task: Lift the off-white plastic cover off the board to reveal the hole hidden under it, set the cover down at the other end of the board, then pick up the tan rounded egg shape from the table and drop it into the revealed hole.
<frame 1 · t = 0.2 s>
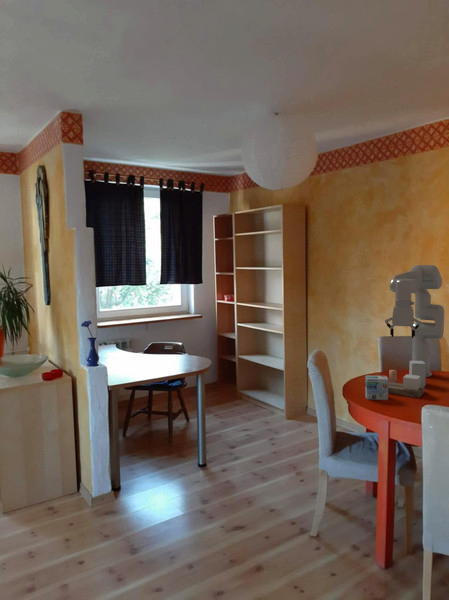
hand: (402, 337, 235), 30 cm above the table, tool pointing down, fingers open, 9 cm apart
light bulb box: (376, 398, 233), on the table
cover: (411, 387, 239), point 3 cm above the table, touching board
supplement box: (417, 384, 255), on the table
tan rounded egg shape: (392, 382, 259), on the table
board: (401, 392, 242), on the table
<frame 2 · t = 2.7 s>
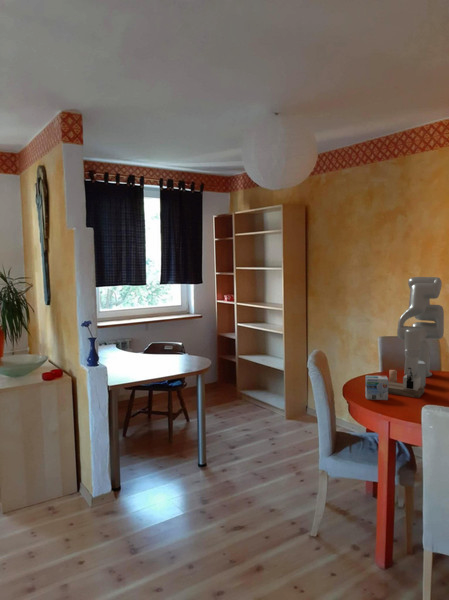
hand: (411, 386, 239), 4 cm above the table, tool pointing down, fingers closed on cover, 7 cm apart
cover: (411, 387, 239), point 3 cm above the table, touching board, gripper
everything else where it was.
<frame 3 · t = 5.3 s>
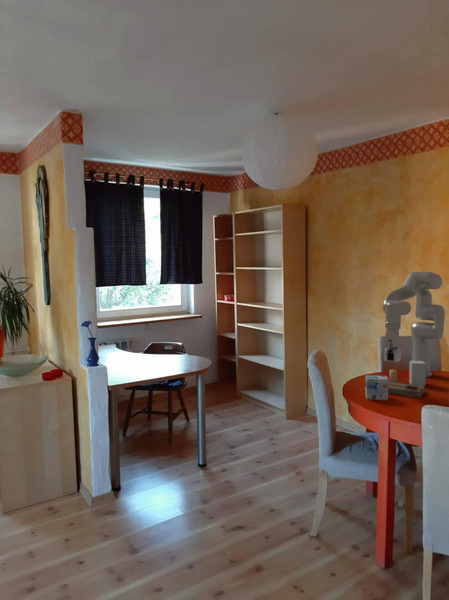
hand: (392, 358, 243), 17 cm above the table, tool pointing down, fingers closed on cover, 7 cm apart
cover: (392, 360, 243), point 16 cm above the table, touching gripper
everything else where it was.
when the fingers open (5 cm above the table, at t = 8.0 s): cover stays where it is, resting on board.
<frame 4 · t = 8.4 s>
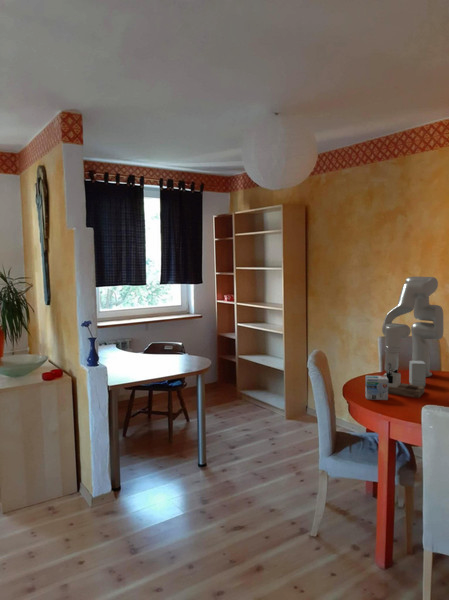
hand: (392, 380, 244), 5 cm above the table, tool pointing down, fingers open, 9 cm apart
cover: (391, 385, 245), point 3 cm above the table, touching board
everything else where it was.
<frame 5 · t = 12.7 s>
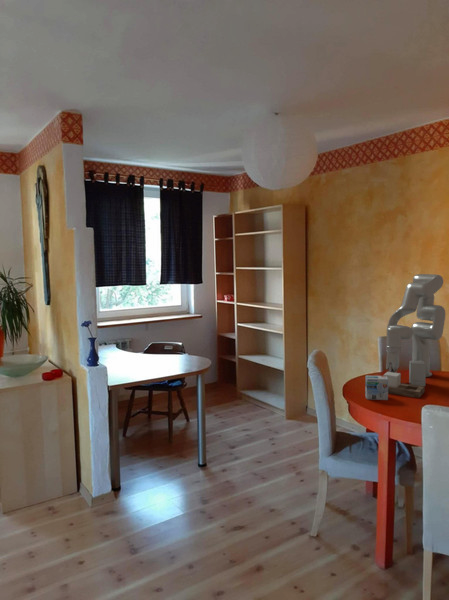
hand: (392, 380, 259), 1 cm above the table, tool pointing down, fingers closed on tan rounded egg shape, 4 cm apart
tan rounded egg shape: (392, 382, 259), on the table, touching gripper
everything else where it was.
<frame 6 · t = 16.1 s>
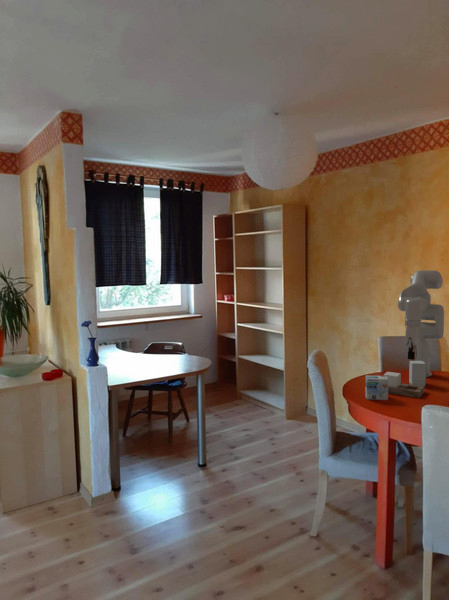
hand: (412, 357, 237), 19 cm above the table, tool pointing down, fingers closed on tan rounded egg shape, 4 cm apart
tan rounded egg shape: (412, 360, 237), point 18 cm above the table, touching gripper
everything else where it was.
when the fingers open (5 cm above the table, at t = 19.5 s): tan rounded egg shape drops 4 cm, resting in board.
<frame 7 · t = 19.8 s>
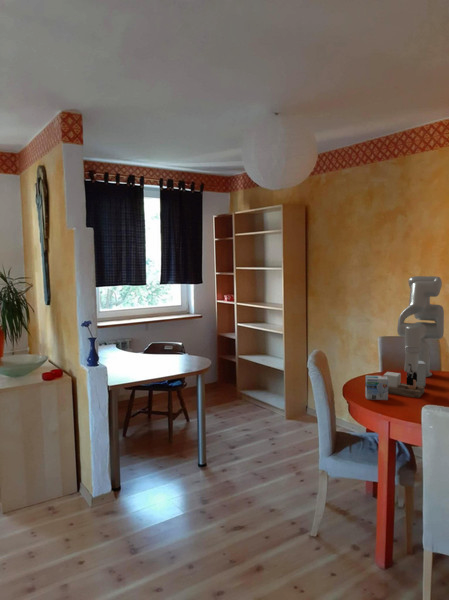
hand: (411, 383, 239), 6 cm above the table, tool pointing down, fingers open, 7 cm apart
tan rounded egg shape: (411, 393, 239), resting in board
everything else where it was.
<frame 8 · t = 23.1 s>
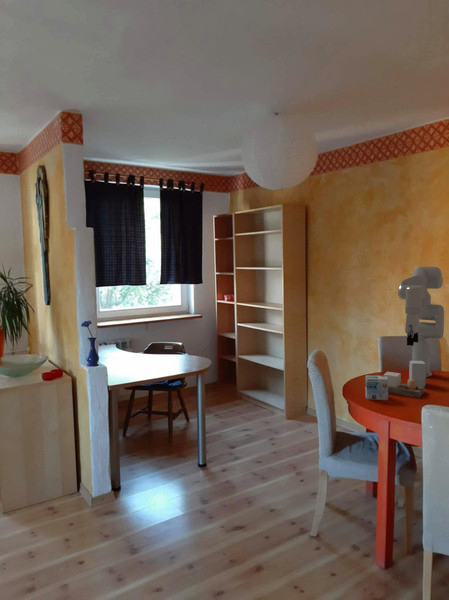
hand: (412, 343, 236), 26 cm above the table, tool pointing down, fingers open, 9 cm apart
nothing on the table moved.
at the end: tan rounded egg shape 0.2 cm from the target spot on the board, point 0.0 cm above the board's base; tan rounded egg shape tilted 0°; cover moved 10.0 cm from its start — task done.
